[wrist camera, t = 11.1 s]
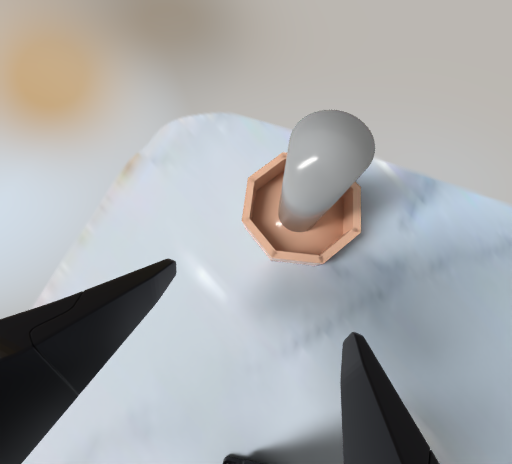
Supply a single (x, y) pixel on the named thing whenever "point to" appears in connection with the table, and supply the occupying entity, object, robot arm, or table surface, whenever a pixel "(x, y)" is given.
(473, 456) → the table surface
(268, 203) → the terracotta bowl
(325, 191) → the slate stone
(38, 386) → the robot arm
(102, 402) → the table surface
